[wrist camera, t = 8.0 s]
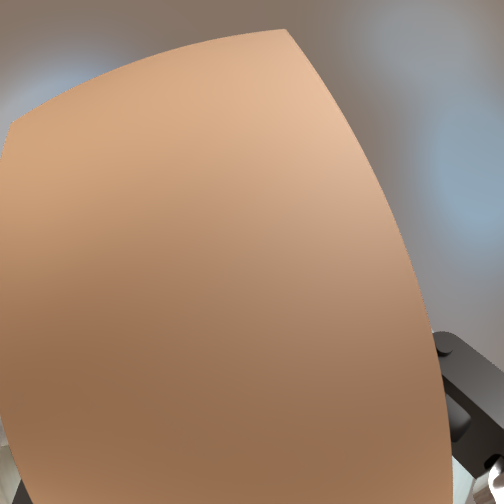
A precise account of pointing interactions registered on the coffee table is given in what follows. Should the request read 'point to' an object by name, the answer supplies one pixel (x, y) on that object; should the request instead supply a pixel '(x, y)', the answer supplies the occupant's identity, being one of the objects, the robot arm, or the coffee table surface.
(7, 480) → the coffee table surface
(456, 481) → the coffee table surface
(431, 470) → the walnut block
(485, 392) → the robot arm
